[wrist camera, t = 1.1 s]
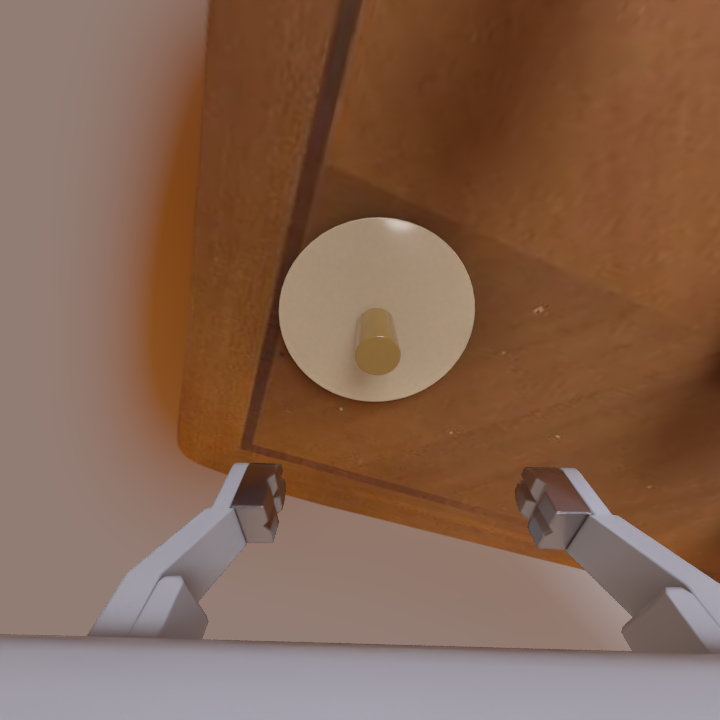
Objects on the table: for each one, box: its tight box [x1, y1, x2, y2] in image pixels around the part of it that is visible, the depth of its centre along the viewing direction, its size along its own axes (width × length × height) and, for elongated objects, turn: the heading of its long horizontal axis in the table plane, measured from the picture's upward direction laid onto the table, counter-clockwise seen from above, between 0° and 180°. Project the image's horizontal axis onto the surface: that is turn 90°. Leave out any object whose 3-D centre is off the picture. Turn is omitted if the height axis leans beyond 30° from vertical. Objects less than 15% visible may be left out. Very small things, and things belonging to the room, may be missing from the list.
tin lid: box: [279, 217, 475, 402], centre depth 19 cm, size 14×14×6 cm
